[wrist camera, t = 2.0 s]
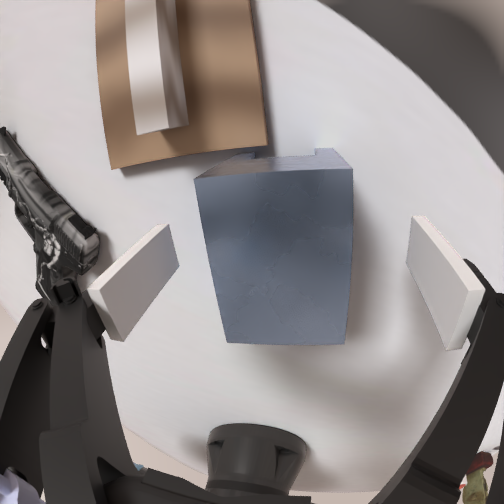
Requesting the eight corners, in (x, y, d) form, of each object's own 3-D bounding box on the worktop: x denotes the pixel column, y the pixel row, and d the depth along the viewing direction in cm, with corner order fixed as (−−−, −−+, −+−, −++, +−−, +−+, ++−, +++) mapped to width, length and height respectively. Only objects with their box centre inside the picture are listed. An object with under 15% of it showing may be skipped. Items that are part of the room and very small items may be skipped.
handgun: (-24, 212, 23) (-11, 123, 17) (-7, 203, 26) (12, 118, 20) (61, 321, 27) (91, 251, 21) (77, 305, 30) (114, 234, 24)
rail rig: (268, 143, 18) (252, 155, 12) (118, 167, 20) (68, 187, 15) (236, -77, 9) (214, -116, 4) (104, -30, 12) (61, -48, 6)
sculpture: (461, 468, 39) (466, 513, 26) (449, 468, 39) (454, 517, 25) (491, 451, 35) (500, 497, 22) (482, 449, 34) (490, 500, 21)
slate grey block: (335, 269, 21) (344, 344, 14) (252, 270, 22) (226, 342, 15) (332, 148, 17) (352, 168, 10) (237, 154, 18) (193, 178, 11)
